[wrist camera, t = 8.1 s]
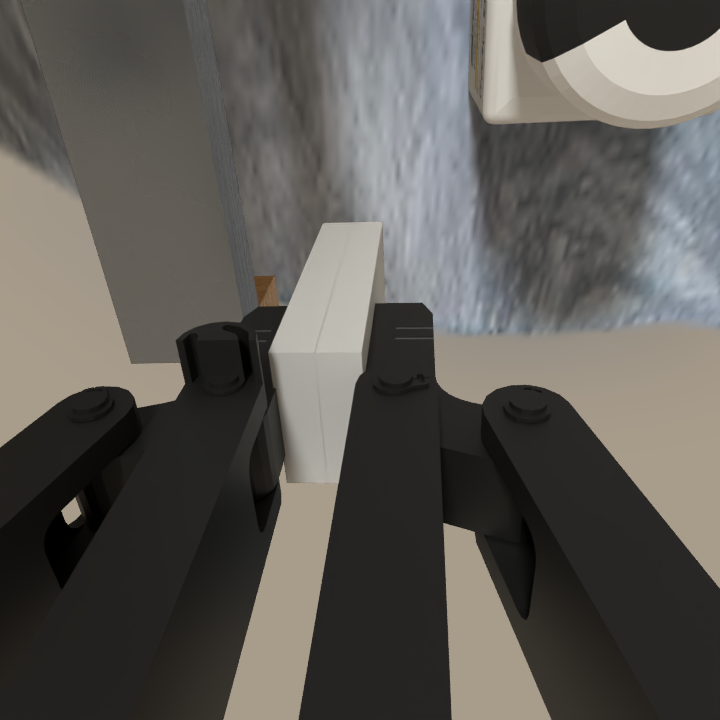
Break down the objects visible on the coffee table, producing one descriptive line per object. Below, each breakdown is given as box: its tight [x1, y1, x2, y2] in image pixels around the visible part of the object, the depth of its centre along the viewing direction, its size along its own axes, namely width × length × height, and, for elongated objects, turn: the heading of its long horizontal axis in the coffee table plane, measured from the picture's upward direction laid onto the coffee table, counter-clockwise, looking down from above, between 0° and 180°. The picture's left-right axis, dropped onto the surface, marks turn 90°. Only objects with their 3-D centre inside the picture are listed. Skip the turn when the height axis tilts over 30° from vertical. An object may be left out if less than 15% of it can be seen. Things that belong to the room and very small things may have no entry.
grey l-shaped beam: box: [21, 0, 279, 364], centre depth 17 cm, size 3×15×15 cm, turn 4°
